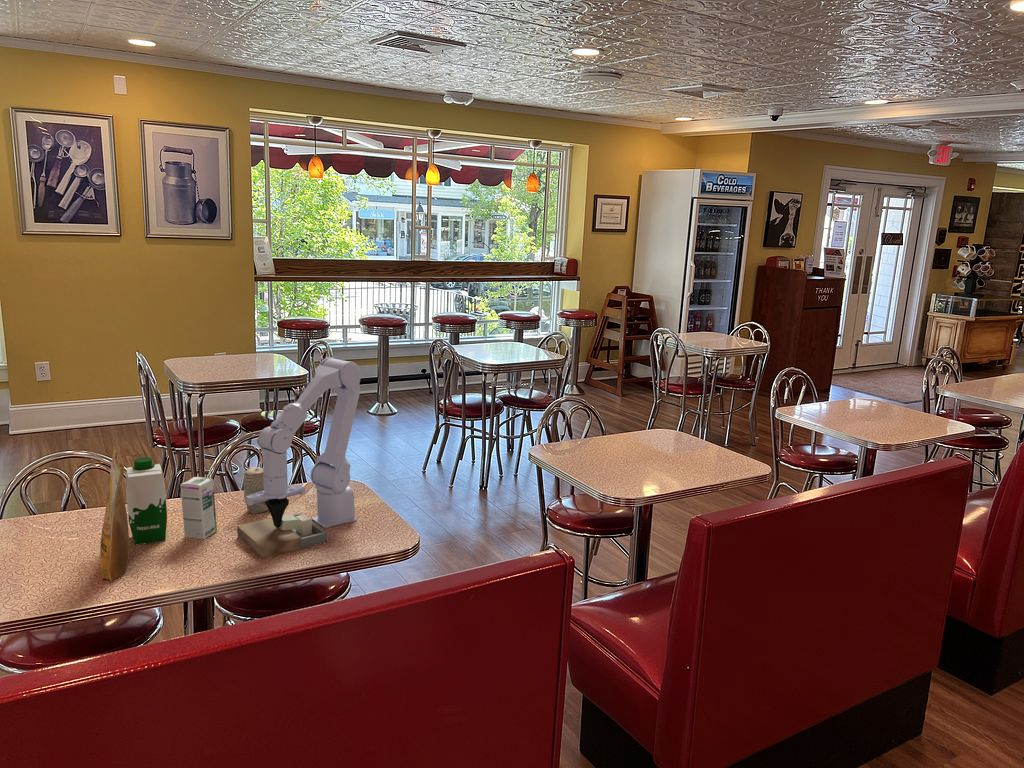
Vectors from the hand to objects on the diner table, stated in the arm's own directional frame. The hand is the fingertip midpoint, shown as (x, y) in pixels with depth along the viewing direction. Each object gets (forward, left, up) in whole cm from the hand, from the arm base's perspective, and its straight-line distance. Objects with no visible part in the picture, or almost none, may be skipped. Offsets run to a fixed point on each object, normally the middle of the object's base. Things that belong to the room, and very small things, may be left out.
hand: (277, 526), depth 195 cm
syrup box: (+14, -15, -4) cm, 21 cm away
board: (+2, 0, -4) cm, 4 cm away
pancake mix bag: (+35, -7, -4) cm, 36 cm away
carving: (-4, -22, -4) cm, 23 cm away
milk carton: (+25, -20, -4) cm, 33 cm away
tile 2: (-6, 0, -1) cm, 6 cm away
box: (-6, 0, -4) cm, 7 cm away
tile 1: (-3, 0, -1) cm, 3 cm away
